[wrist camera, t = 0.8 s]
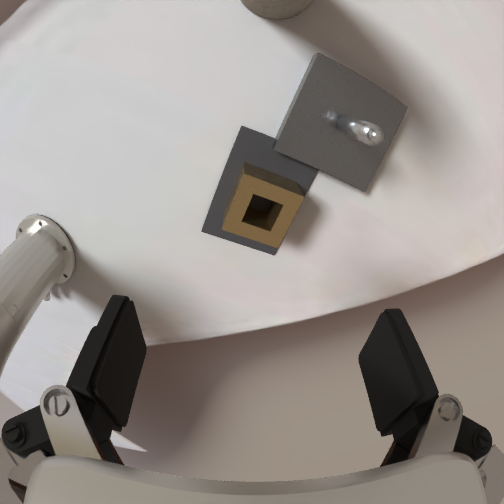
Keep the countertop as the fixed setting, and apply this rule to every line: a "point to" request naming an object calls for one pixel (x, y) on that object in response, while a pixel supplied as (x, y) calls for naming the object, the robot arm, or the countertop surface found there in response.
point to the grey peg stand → (339, 123)
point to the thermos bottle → (276, 7)
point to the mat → (261, 155)
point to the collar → (257, 221)
